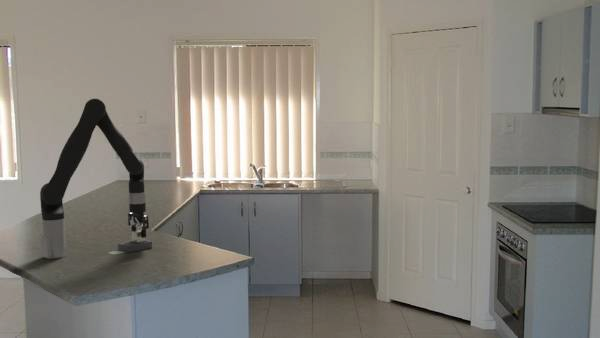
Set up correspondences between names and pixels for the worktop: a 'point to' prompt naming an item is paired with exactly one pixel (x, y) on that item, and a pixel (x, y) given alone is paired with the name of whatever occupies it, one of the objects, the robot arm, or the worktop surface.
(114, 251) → the mat
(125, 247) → the grey holder tray
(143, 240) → the beige rectangular block
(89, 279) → the worktop surface
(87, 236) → the worktop surface
